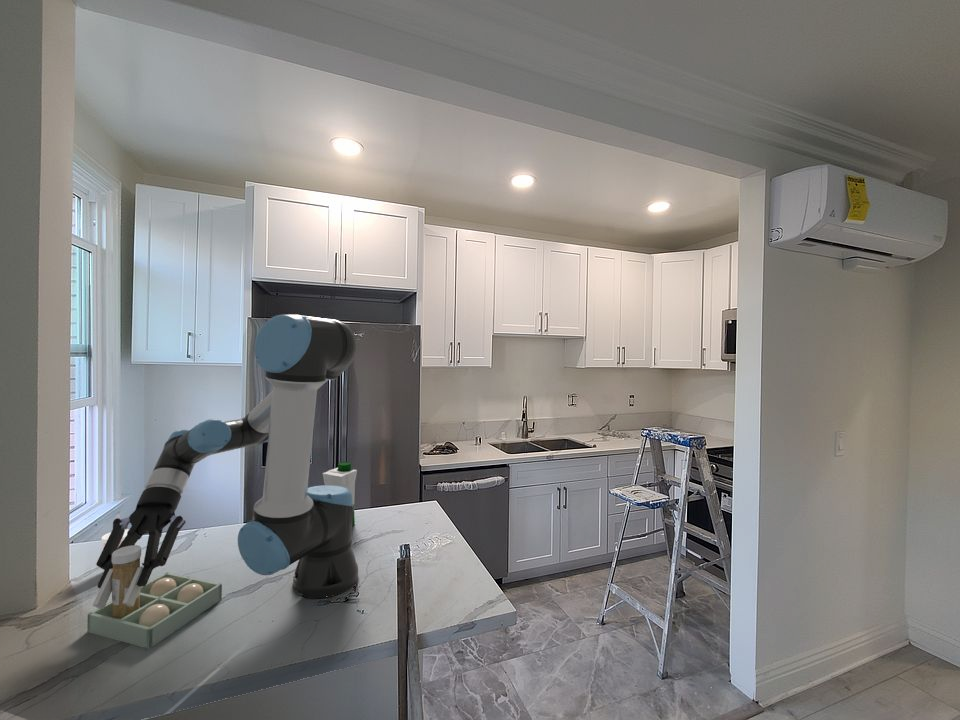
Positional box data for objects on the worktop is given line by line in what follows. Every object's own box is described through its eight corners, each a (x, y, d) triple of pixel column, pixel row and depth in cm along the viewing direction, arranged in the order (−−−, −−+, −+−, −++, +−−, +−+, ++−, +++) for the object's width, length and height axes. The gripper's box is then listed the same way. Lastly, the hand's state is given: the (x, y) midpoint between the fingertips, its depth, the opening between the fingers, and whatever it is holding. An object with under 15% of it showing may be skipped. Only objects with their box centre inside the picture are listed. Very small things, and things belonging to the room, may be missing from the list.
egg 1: (181, 596, 92) (182, 575, 92) (160, 609, 87) (160, 587, 87) (165, 592, 93) (165, 571, 93) (143, 605, 89) (143, 583, 88)
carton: (221, 601, 91) (221, 583, 91) (148, 651, 76) (149, 629, 76) (166, 589, 95) (167, 572, 95) (87, 634, 80) (87, 614, 80)
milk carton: (358, 523, 134) (360, 463, 134) (339, 534, 126) (341, 470, 125) (337, 518, 138) (339, 460, 137) (317, 529, 129) (319, 466, 129)
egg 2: (175, 624, 83) (175, 601, 83) (151, 640, 78) (151, 615, 78) (157, 619, 84) (157, 596, 84) (132, 635, 79) (132, 611, 79)
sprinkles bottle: (138, 617, 82) (139, 551, 82) (108, 624, 80) (109, 557, 80) (141, 604, 86) (142, 542, 86) (113, 611, 84) (114, 547, 83)
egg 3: (208, 602, 90) (209, 580, 90) (188, 615, 86) (188, 593, 85) (191, 598, 91) (192, 577, 91) (170, 611, 87) (171, 589, 87)
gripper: (209, 498, 99) (170, 606, 83) (128, 500, 96) (71, 614, 80) (199, 483, 94) (155, 596, 78) (112, 486, 91) (49, 604, 75)
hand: (113, 605), depth 79 cm, fingers closed on sprinkles bottle, 4 cm apart
